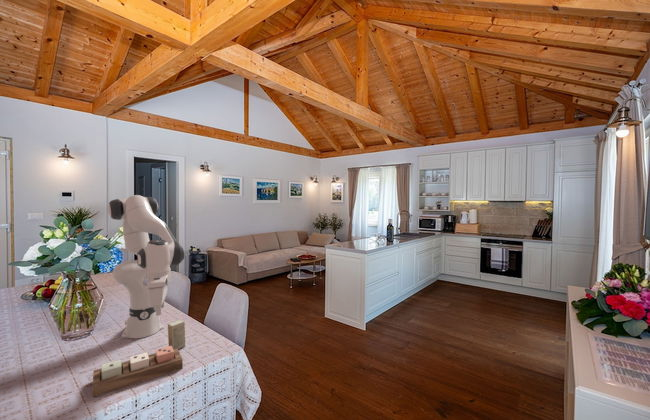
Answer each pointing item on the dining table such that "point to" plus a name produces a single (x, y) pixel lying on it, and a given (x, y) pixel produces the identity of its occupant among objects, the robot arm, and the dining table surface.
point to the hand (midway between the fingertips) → (160, 311)
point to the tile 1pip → (111, 369)
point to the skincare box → (176, 334)
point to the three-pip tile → (164, 354)
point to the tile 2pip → (139, 361)
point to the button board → (135, 374)
